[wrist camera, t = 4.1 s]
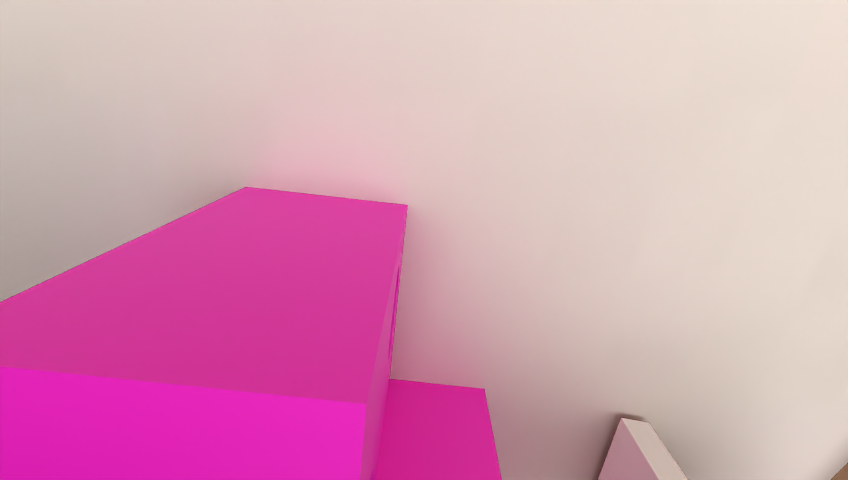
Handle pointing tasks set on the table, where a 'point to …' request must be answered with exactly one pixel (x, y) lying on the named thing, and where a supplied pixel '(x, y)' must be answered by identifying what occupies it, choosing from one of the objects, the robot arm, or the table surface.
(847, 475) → the walnut base block
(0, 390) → the toy block
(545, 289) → the table surface
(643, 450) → the robot arm
